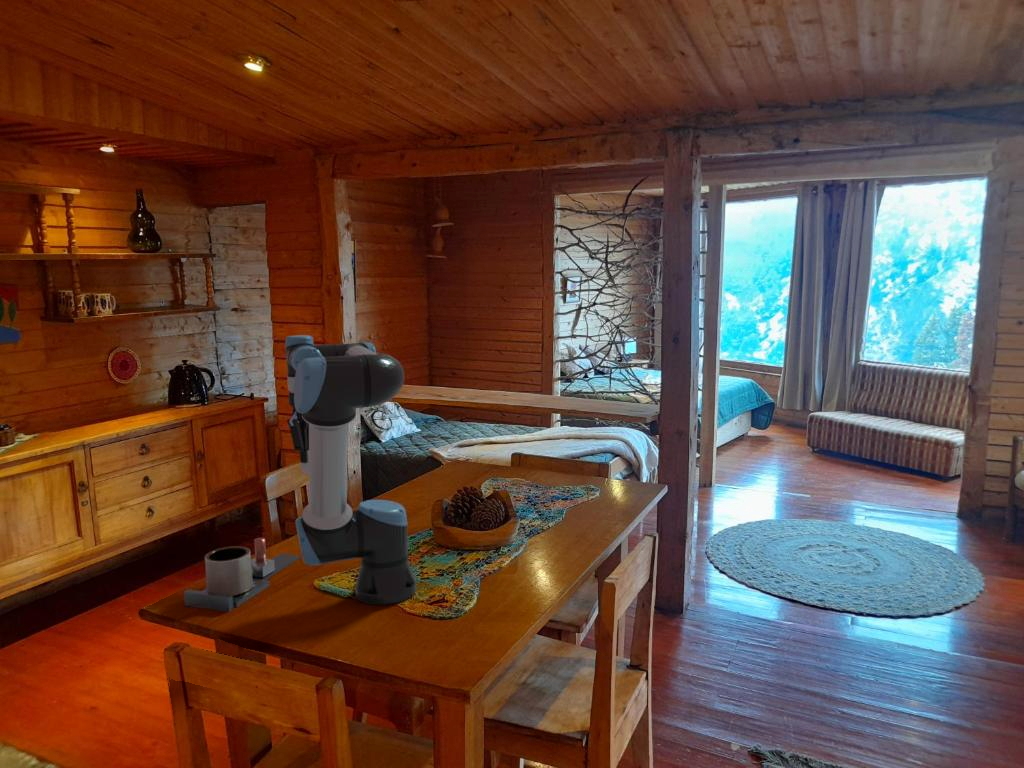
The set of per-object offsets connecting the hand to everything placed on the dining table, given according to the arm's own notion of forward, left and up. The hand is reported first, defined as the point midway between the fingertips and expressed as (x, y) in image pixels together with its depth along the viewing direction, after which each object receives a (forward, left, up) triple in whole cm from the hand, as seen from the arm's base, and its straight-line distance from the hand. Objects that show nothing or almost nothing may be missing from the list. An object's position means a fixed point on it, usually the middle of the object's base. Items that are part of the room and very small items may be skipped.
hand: (307, 472), depth 207 cm
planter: (-19, +22, -23) cm, 37 cm away
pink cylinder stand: (-11, +16, -23) cm, 30 cm away
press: (-12, +17, -24) cm, 32 cm away
